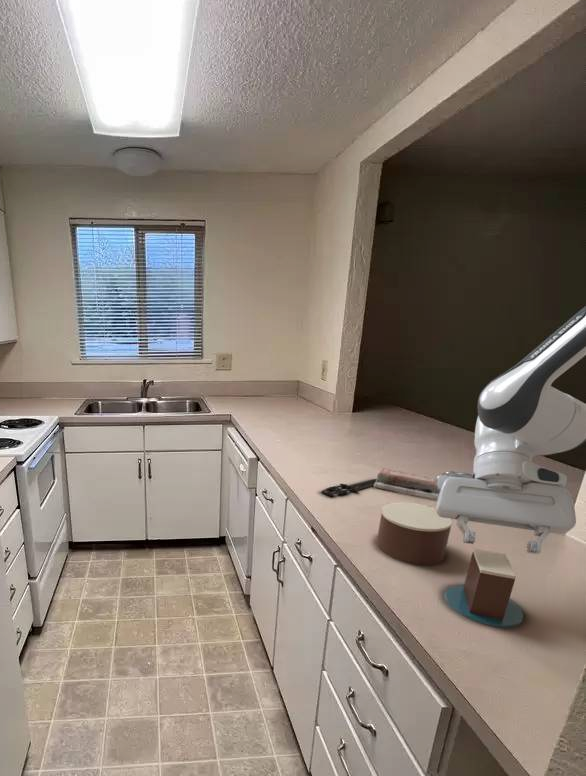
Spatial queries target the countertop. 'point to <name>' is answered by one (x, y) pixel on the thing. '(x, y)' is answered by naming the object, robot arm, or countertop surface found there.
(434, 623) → the countertop surface
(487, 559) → the cake slice
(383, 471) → the packaged product
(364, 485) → the knife
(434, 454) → the countertop surface
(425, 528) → the cake
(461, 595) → the plate
